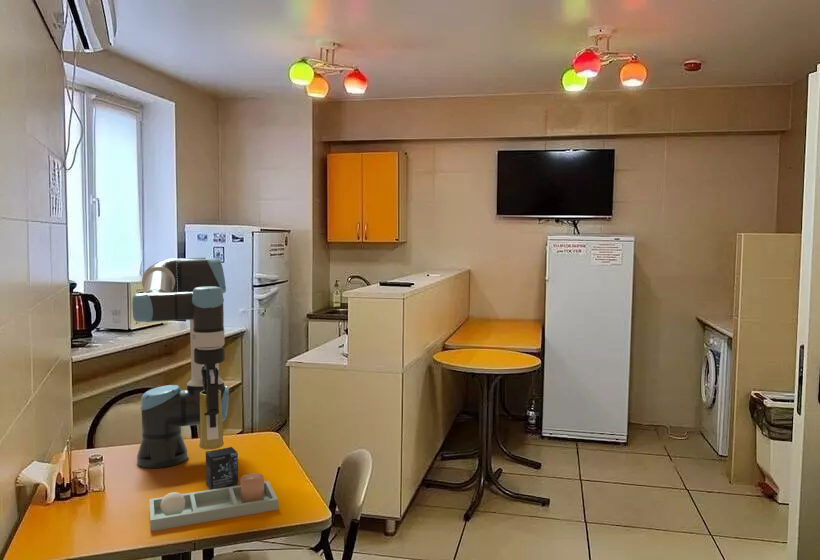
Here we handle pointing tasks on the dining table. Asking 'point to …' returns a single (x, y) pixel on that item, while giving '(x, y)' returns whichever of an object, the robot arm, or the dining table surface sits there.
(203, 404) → the vase
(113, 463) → the dining table surface
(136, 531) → the dining table surface
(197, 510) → the tray
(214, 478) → the box
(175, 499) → the ball
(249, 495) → the pink pillar candle
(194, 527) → the dining table surface
